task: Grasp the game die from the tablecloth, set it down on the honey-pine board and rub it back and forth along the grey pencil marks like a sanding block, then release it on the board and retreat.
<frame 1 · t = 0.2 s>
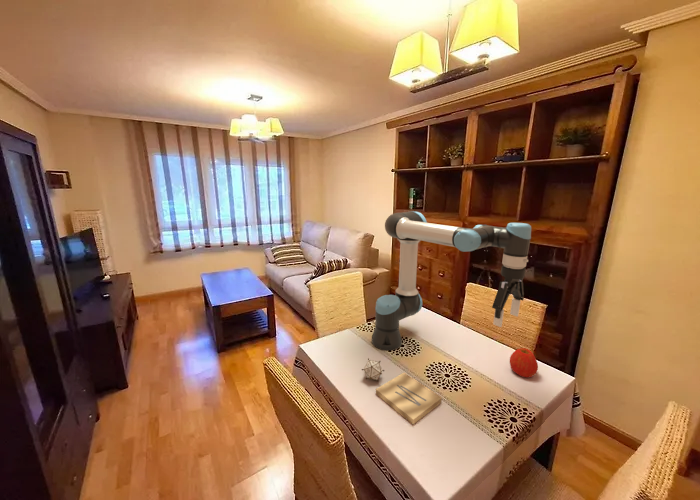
hand: (506, 320, 106), 28 cm above the table, fingers open, 13 cm apart
apple: (522, 372, 120), on the table
board: (407, 397, 105), on the table
game die: (372, 378, 115), on the table
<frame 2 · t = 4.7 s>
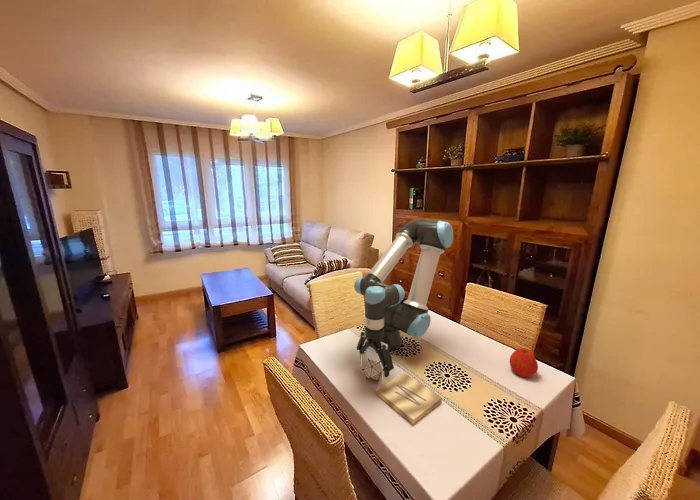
hand: (373, 374, 115), 2 cm above the table, fingers open, 12 cm apart
nothing on the table moved.
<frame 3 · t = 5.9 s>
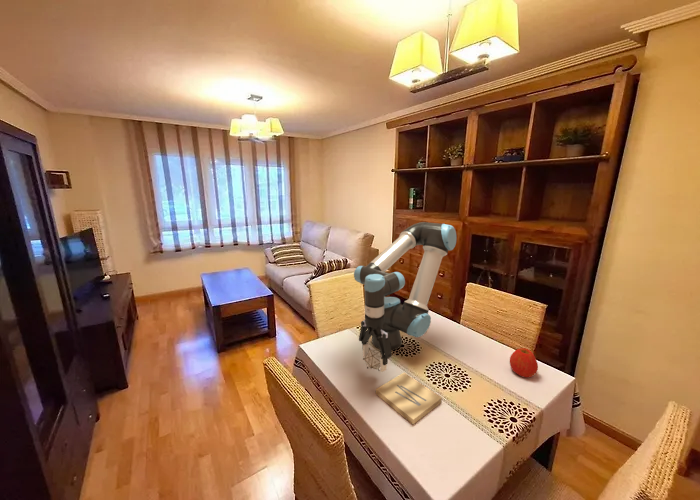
hand: (374, 364, 114), 6 cm above the table, fingers closed on game die, 9 cm apart
game die: (374, 368, 115), point 4 cm above the table, touching gripper
everything else where it was.
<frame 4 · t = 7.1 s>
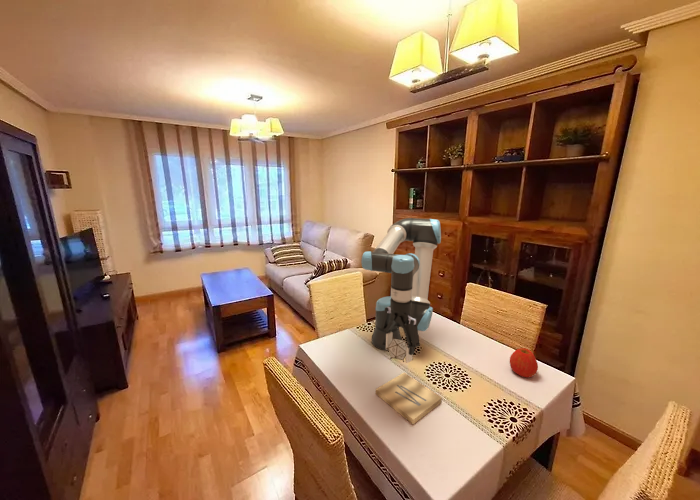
hand: (398, 354, 105), 16 cm above the table, fingers closed on game die, 9 cm apart
game die: (397, 359, 106), point 14 cm above the table, touching gripper
everything else where it was.
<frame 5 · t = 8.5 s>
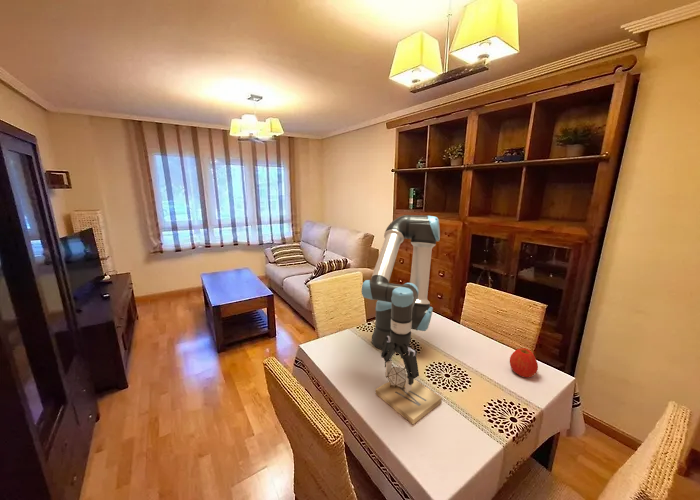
hand: (398, 382, 108), 3 cm above the table, fingers closed on game die, 9 cm apart
game die: (397, 386, 108), point 2 cm above the table, touching board, gripper
everything else where it was.
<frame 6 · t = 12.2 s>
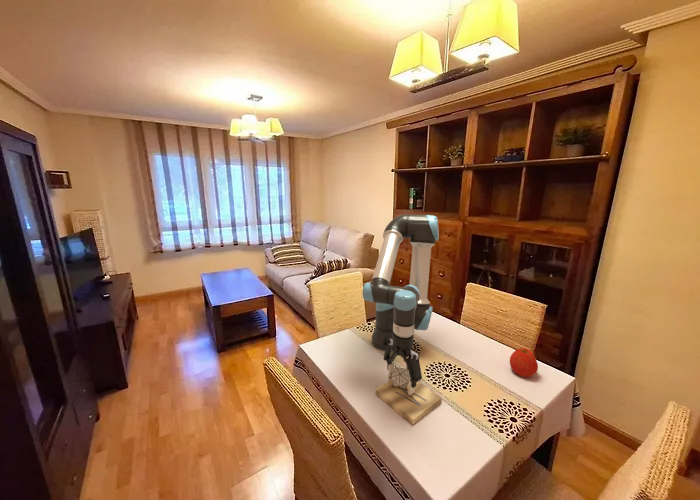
hand: (400, 385, 108), 3 cm above the table, fingers closed on game die, 9 cm apart
game die: (400, 387, 108), point 2 cm above the table, touching gripper
everything else where it was.
when the fingers open (3 cm above the table, at t = 15.6 s): game die stays where it is, resting on board.
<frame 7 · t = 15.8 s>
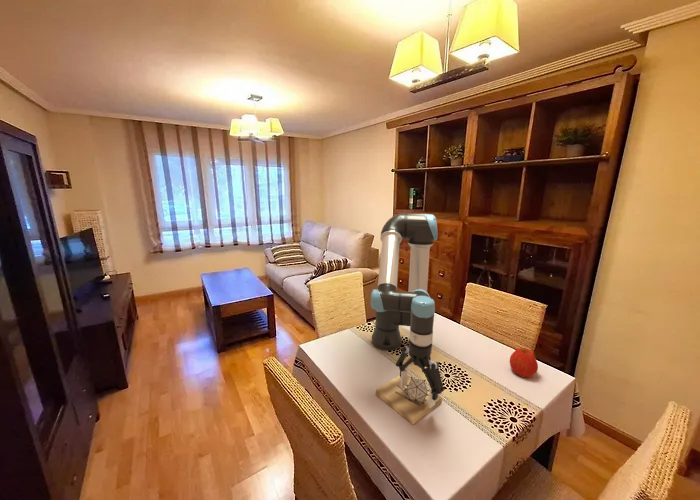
hand: (417, 395, 101), 4 cm above the table, fingers open, 12 cm apart
game die: (416, 400, 101), point 2 cm above the table, touching board
everything else where it was.
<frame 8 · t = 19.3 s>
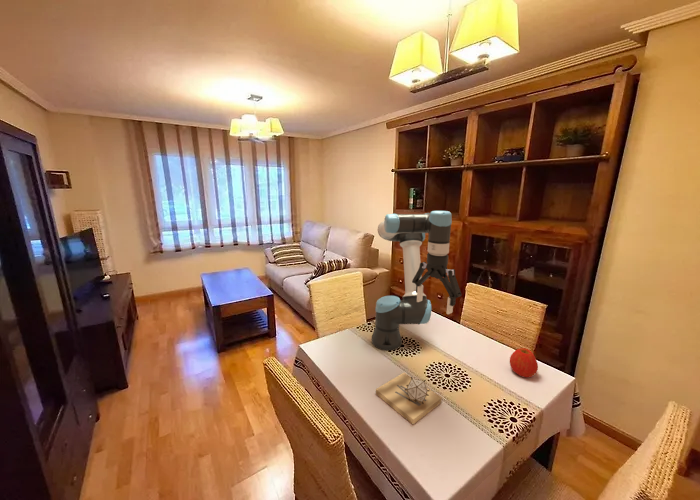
hand: (433, 306, 108), 32 cm above the table, fingers open, 13 cm apart
nothing on the table moved.
at the end: game die inside the target area (0.9 cm from its centre), point 1.8 cm above the table; game die touching board; the gripper is holding nothing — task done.
